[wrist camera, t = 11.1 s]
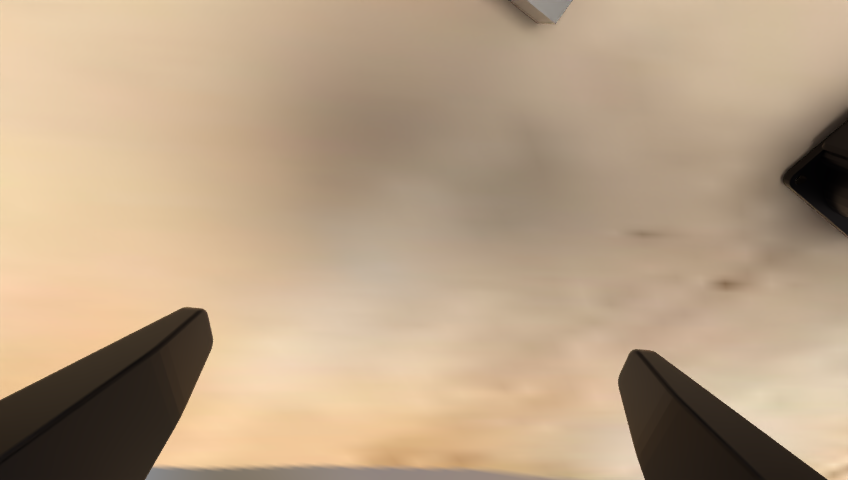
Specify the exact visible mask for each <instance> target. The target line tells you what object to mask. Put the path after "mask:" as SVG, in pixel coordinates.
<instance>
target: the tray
mask: <svg viewBox="0 0 848 480" xmlns="http://www.w3.org/2000/svg"><path fill="white" fill-rule="evenodd" d="M509 1H510V2H511V3H513V4H514V5H515V6H516V7H518V8H519V9H520V10H521V11H523V12H524V13H525V14H526V15H528V16H529V17H530V18H531V19H533V20H534V21H535V22H536V23H538V24H556V23H557V21H558V20H559V19H560V17H561V16H562V14H563V13H564V12H565V10H566V9H567V7H568V6H569V5H570V3H571V2H572V0H509Z"/></svg>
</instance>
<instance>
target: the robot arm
mask: <svg viewBox="0 0 848 480" xmlns="http://www.w3.org/2000/svg"><path fill="white" fill-rule="evenodd" d="M798 176H800V177H799V179H798V180H796V181H795V179H796V178H797V177H798ZM783 182H784V184H785V185H786V186H787V187H788V188H789V189H791V190H792V191H793V192H794V193H795V194H797V195H798V196H799V197H800V198H801V199H803V200H804V201H805V202H806V203H807V204H808V205H810V206H811V207H812V208H813V209H814V210H816V211H817V212H818V213H819V214H820V215H822V216H823V217H824V218H825V219H826V220H827V221H829V222H830V223H831V224H832V225H833V226H835V227H836V228H837V229H838V230H839V231H840V232H842V233H843V234H844V235H845V236H846V237H848V120H847V121H846V122H845V123H844V124H843V125H841V126H840V127H839V128H838V129H837V130H836V131H834V132H833V133H832V134H831V135H830V136H829V137H827V138H826V139H825V140H824V141H823V142H822V143H820V144H819V145H818V146H817V147H816V148H815V149H813V150H812V151H811V152H810V153H809V154H808V155H806V156H805V157H804V158H803V159H802V160H801V161H799V162H798V163H797V164H796V165H795V166H794V167H793V168H791V169H790V170H789V171H788V172H787V173H786V174H785V176H784V178H783ZM212 345H213V336H212V332H211V327H210V323H209V318H208V314H207V312H206V311H205V310H204V309H201V308H191V307H184V308H181V309H179V310H177V311H175V312H173V313H171V314H169V315H167V316H165V317H163V318H161V319H159V320H157V321H156V322H154V323H152V324H150V325H148V326H146V327H144V328H142V329H140V330H138V331H136V332H134V333H132V334H130V335H128V336H126V337H124V338H122V339H120V340H118V341H116V342H114V343H112V344H110V345H108V346H106V347H104V348H102V349H100V350H98V351H96V352H94V353H92V354H90V355H88V356H86V357H84V358H82V359H80V360H78V361H77V362H75V363H73V364H71V365H69V366H67V367H65V368H63V369H61V370H59V371H57V372H55V373H53V374H51V375H49V376H47V377H45V378H43V379H41V380H39V381H37V382H35V383H33V384H31V385H29V386H27V387H25V388H23V389H21V390H19V391H17V392H15V393H13V394H11V395H9V396H7V397H5V398H3V399H1V400H0V480H145V479H146V477H147V475H148V473H149V472H150V470H151V468H152V466H153V465H154V463H155V461H156V460H157V458H158V456H159V454H160V453H161V451H162V449H163V447H164V446H165V444H166V442H167V441H168V439H169V437H170V435H171V434H172V432H173V430H174V428H175V427H176V425H177V423H178V421H179V419H180V417H181V415H182V413H183V411H184V409H185V407H186V405H187V403H188V400H189V398H190V396H191V394H192V391H193V389H194V387H195V385H196V383H197V380H198V378H199V376H200V374H201V371H202V369H203V367H204V365H205V362H206V360H207V358H208V356H209V353H210V351H211V349H212ZM618 386H619V390H620V394H621V398H622V402H623V406H624V410H625V414H626V417H627V421H628V425H629V429H630V433H631V437H632V440H633V444H634V448H635V451H636V455H637V458H638V461H639V464H640V467H641V470H642V472H643V475H644V478H645V480H827V479H826V478H825V477H823V476H822V475H821V474H819V473H818V472H816V471H815V470H814V469H812V468H811V467H810V466H808V465H807V464H806V463H804V462H803V461H802V460H800V459H799V458H798V457H796V456H795V455H794V454H792V453H791V452H789V451H788V450H787V449H785V448H784V447H783V446H781V445H780V444H779V443H777V442H776V441H775V440H773V439H772V438H771V437H769V436H768V435H767V434H765V433H764V432H762V431H761V430H760V429H758V428H757V427H756V426H754V425H753V424H752V423H750V422H749V421H748V420H746V419H745V418H744V417H742V416H741V415H740V414H738V413H737V412H735V411H734V410H733V409H731V408H730V407H729V406H727V405H726V404H725V403H723V402H722V401H721V400H719V399H718V398H717V397H715V396H714V395H713V394H711V393H710V392H708V391H707V390H706V389H704V388H703V387H702V386H700V385H699V384H698V383H696V382H695V381H694V380H692V379H691V378H690V377H688V376H687V375H685V374H684V373H683V372H681V371H680V370H679V369H677V368H676V367H675V366H673V365H672V364H671V363H669V362H668V361H667V360H665V359H664V358H663V357H661V356H660V355H658V354H657V353H656V352H654V351H650V350H640V349H635V350H632V351H631V352H630V353H629V355H628V358H627V360H626V362H625V364H624V366H623V368H622V370H621V373H620V375H619V379H618Z"/></svg>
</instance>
